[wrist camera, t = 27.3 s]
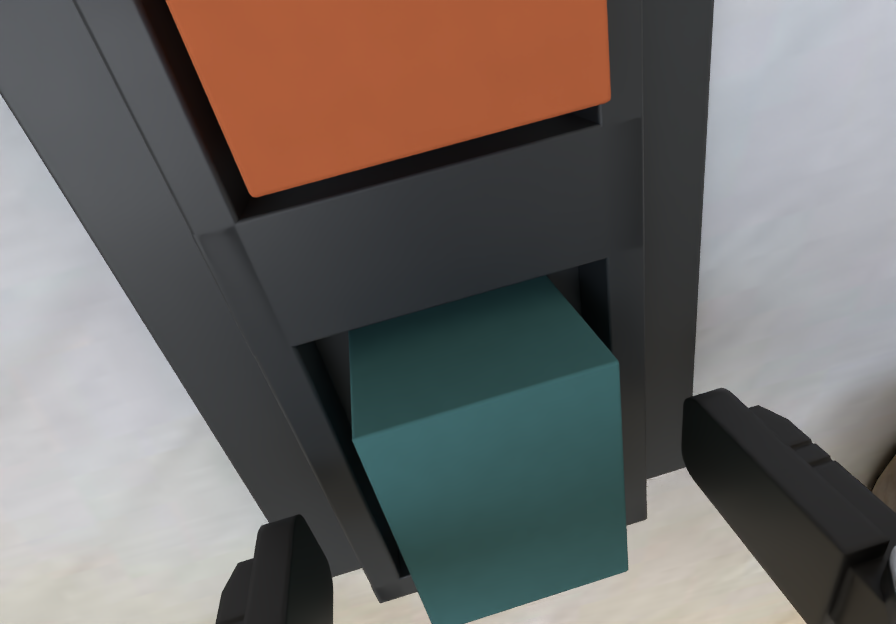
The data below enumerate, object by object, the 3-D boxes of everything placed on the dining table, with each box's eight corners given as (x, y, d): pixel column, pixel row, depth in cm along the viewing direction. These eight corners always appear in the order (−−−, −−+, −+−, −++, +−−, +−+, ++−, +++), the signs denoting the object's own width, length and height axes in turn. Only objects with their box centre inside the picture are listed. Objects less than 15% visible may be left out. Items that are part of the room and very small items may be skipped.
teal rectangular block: (347, 328, 11) (351, 441, 8) (545, 271, 11) (620, 360, 8) (414, 504, 14) (435, 634, 11) (568, 457, 14) (629, 572, 11)
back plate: (-289, -497, 6) (-778, -905, 3) (678, -664, 7) (900, -1115, 4) (309, 541, 16) (304, 638, 14) (662, 433, 17) (721, 506, 14)
